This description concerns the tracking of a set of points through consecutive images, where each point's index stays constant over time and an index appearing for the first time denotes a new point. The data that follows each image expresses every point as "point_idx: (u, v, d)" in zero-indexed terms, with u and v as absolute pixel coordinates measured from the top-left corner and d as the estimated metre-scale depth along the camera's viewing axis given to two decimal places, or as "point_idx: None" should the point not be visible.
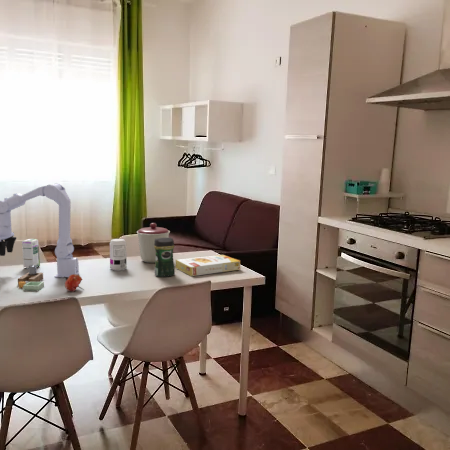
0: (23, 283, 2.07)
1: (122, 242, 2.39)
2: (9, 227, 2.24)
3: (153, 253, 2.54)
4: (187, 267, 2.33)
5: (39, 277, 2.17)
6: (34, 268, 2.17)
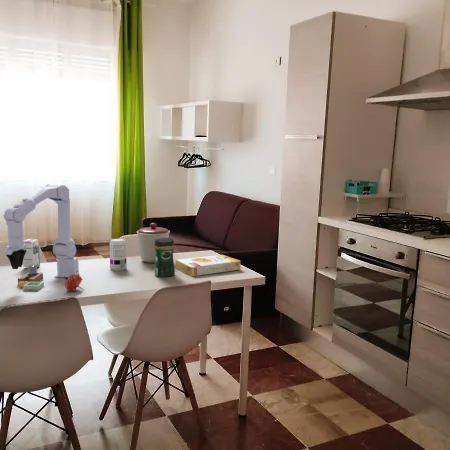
0: (23, 283, 2.07)
1: (122, 242, 2.39)
2: (21, 238, 1.99)
3: (153, 253, 2.54)
4: (188, 267, 2.33)
5: (39, 277, 2.17)
6: (34, 268, 2.17)
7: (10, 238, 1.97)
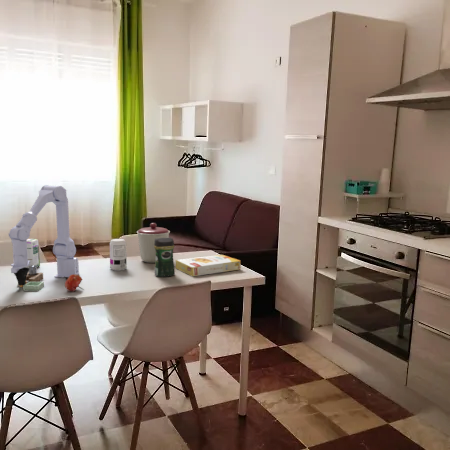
0: None
1: (122, 242, 2.39)
2: (25, 256, 2.04)
3: (153, 253, 2.54)
4: (188, 267, 2.33)
5: (39, 277, 2.17)
6: (34, 268, 2.17)
7: (15, 256, 2.02)
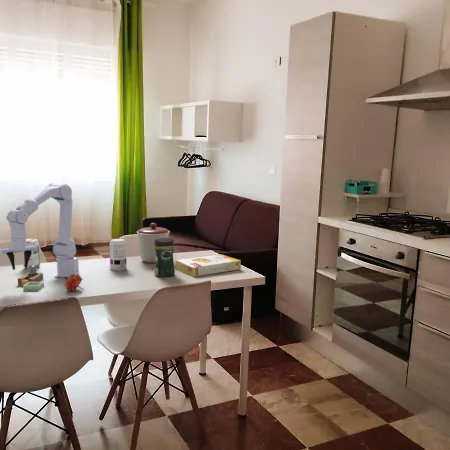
0: (26, 281, 2.10)
1: (122, 242, 2.39)
2: (17, 240, 2.00)
3: (153, 253, 2.54)
4: (189, 267, 2.33)
5: (39, 277, 2.17)
6: (34, 268, 2.17)
7: None
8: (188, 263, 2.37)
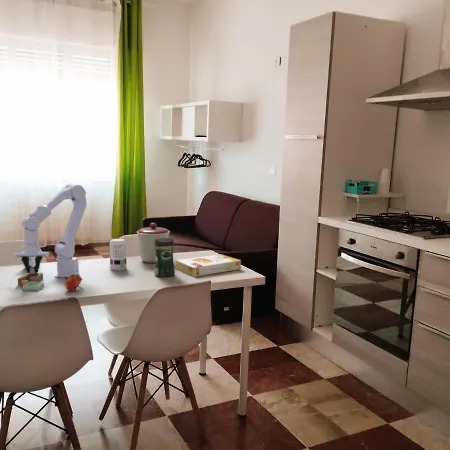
0: (26, 281, 2.10)
1: (122, 242, 2.39)
2: (28, 245, 2.13)
3: (153, 253, 2.54)
4: (190, 267, 2.32)
5: (39, 277, 2.17)
6: (34, 268, 2.17)
7: None
8: (188, 263, 2.37)
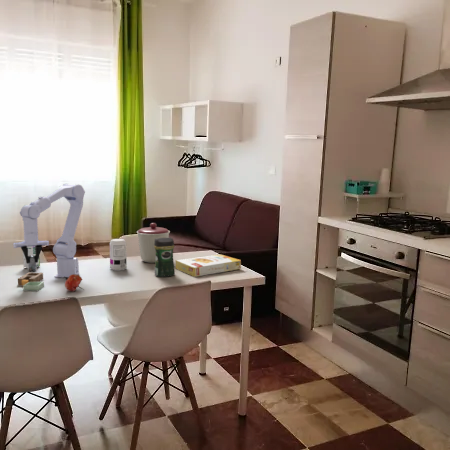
0: (26, 281, 2.10)
1: (122, 242, 2.39)
2: (29, 234, 2.07)
3: (153, 253, 2.54)
4: (190, 267, 2.32)
5: (39, 277, 2.17)
6: (34, 258, 2.11)
7: None
8: (189, 263, 2.37)
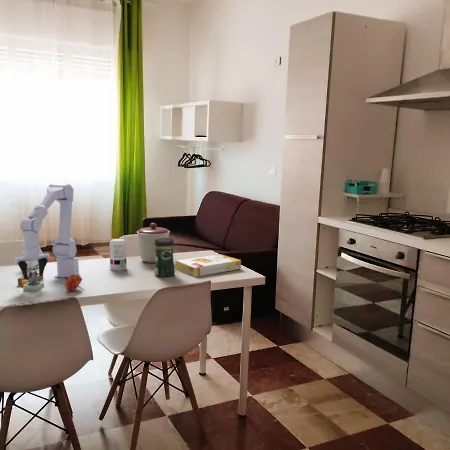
0: (26, 281, 2.10)
1: (122, 242, 2.39)
2: (32, 248, 2.01)
3: (153, 253, 2.54)
4: (191, 267, 2.32)
5: (39, 277, 2.17)
6: (36, 273, 2.06)
7: None
8: (189, 263, 2.37)
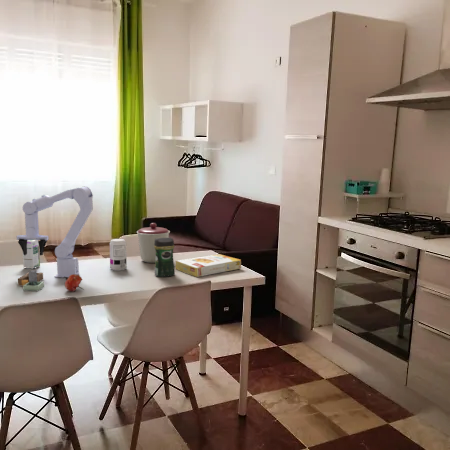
0: (26, 281, 2.10)
1: (122, 242, 2.39)
2: (27, 228, 2.22)
3: (153, 253, 2.54)
4: (192, 268, 2.32)
5: (39, 277, 2.17)
6: (36, 273, 2.06)
7: None
8: (190, 263, 2.36)
